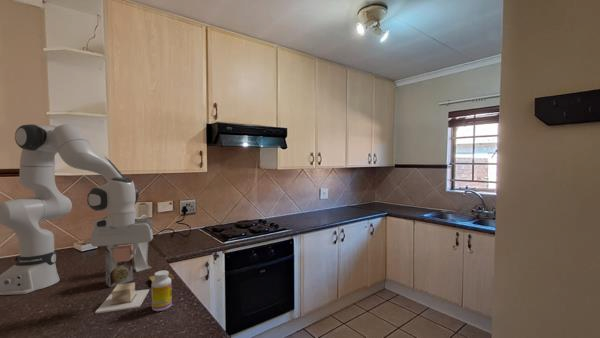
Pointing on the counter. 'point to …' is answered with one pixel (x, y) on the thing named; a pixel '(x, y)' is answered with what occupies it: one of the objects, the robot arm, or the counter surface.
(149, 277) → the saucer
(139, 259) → the skyscraper
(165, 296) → the supplement bottle
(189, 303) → the counter surface
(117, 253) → the coral cube
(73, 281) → the counter surface
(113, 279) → the coffee box
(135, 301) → the white flat square slab
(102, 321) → the counter surface
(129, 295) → the birch block
